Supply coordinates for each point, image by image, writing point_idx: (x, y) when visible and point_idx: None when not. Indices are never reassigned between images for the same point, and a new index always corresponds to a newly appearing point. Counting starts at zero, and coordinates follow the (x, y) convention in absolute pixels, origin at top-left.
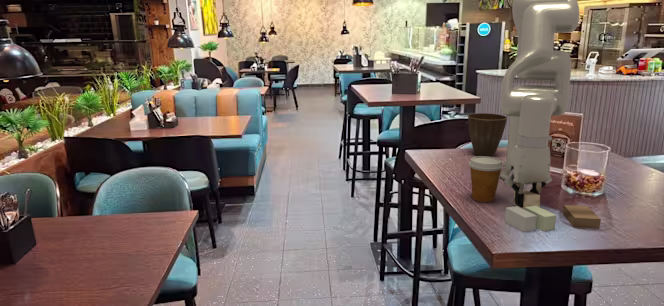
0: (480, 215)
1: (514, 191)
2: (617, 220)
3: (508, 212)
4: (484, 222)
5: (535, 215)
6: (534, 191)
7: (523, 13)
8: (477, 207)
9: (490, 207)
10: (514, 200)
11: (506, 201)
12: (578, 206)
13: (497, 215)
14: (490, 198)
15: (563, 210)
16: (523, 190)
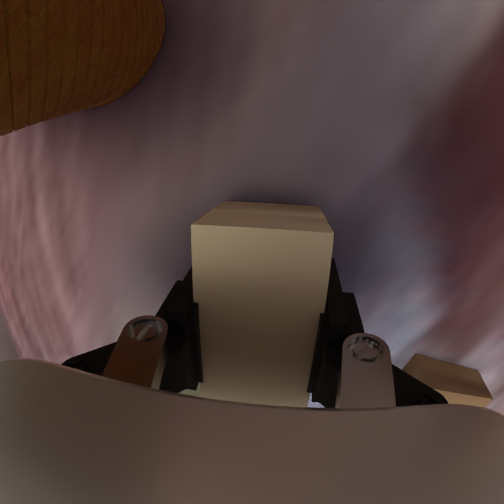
0: (30, 278)
1: (192, 235)
2: (500, 402)
3: None
4: (40, 335)
5: None
6: (317, 384)
7: None
8: (30, 184)
9: (81, 193)
10: (176, 282)
11: (226, 99)
12: (462, 403)
13: (87, 299)
14: (93, 105)
15: (417, 373)
16: (289, 259)
